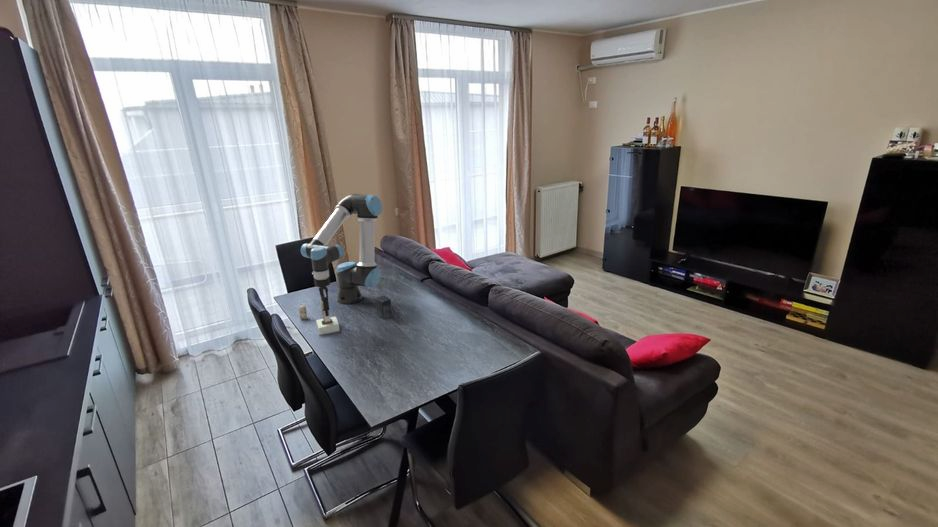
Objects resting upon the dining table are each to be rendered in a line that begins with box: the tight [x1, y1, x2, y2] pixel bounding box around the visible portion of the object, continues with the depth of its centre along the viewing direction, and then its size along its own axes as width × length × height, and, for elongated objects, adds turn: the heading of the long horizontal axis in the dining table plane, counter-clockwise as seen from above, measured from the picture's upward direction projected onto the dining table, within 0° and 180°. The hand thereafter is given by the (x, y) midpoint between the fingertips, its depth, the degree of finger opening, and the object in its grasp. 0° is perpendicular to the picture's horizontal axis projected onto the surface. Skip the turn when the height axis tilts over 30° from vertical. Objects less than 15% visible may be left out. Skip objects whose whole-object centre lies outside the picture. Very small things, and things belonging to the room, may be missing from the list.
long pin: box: [320, 301, 331, 325], centre depth 213 cm, size 4×4×14 cm
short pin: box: [298, 305, 308, 320], centre depth 227 cm, size 4×4×7 cm
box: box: [374, 295, 393, 320], centre depth 229 cm, size 8×6×11 cm
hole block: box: [315, 316, 340, 336], centre depth 215 cm, size 10×10×4 cm
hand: (327, 319), depth 214 cm, fingers closed on long pin, 3 cm apart
